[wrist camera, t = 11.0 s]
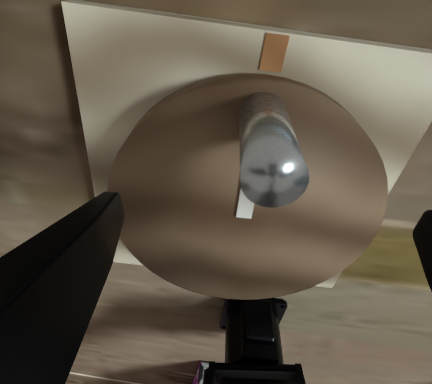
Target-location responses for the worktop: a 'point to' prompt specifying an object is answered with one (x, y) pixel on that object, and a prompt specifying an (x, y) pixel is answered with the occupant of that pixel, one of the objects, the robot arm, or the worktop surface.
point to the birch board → (234, 64)
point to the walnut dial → (248, 187)
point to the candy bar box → (200, 372)
